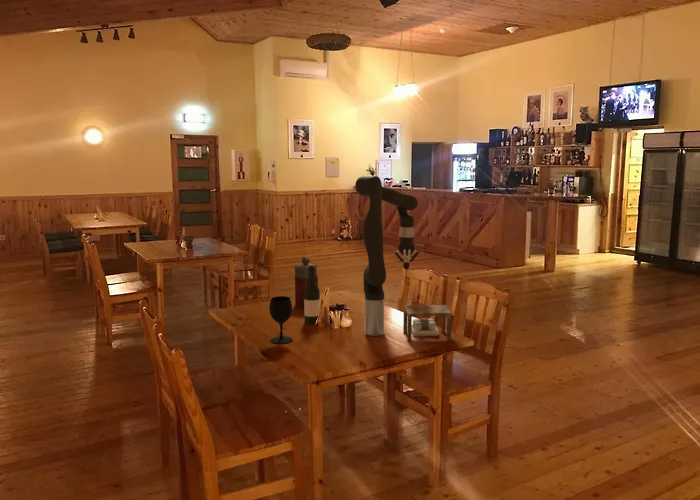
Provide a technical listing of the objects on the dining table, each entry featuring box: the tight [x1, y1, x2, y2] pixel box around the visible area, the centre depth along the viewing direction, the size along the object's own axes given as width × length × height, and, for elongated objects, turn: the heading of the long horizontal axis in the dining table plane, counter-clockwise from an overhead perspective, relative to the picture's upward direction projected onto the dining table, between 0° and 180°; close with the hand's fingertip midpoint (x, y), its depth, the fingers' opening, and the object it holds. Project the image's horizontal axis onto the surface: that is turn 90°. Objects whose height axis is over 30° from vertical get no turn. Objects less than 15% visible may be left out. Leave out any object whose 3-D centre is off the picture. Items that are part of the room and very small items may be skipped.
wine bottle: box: [303, 263, 321, 325], centre depth 295 cm, size 8×8×30 cm
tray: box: [411, 317, 440, 337], centre depth 279 cm, size 12×10×7 cm
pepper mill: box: [294, 256, 319, 308], centre depth 329 cm, size 9×11×28 cm
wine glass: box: [269, 295, 294, 345], centre depth 267 cm, size 10×10×20 cm
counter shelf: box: [402, 304, 453, 343], centre depth 273 cm, size 20×14×14 cm
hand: (406, 269), depth 295 cm, fingers closed
